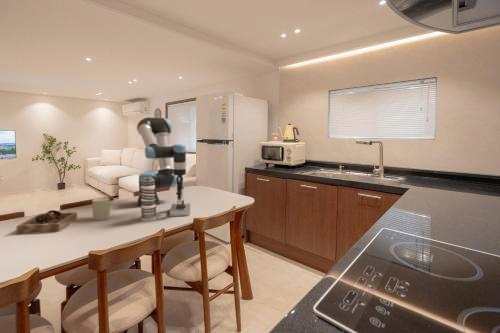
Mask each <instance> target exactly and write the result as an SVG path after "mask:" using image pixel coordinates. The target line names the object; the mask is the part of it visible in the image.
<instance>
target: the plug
mask: <svg viewBox="0 0 500 333" xmlns="http://www.w3.org/2000/svg"><path fill="white" fill-rule="evenodd" d="M176 204H177V203H176ZM184 204H185V199H182V204H177V209H184Z"/></svg>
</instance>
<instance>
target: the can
mask: <svg viewBox="0 0 500 333" xmlns="http://www.w3.org/2000/svg"><path fill="white" fill-rule="evenodd" d="M91 202H92V220H94V221H104V220H107V219H110V218H111V211H110V210H111V209H110V197H105V196H104V197H96V198H92V200H91Z"/></svg>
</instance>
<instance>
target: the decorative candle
mask: <svg viewBox="0 0 500 333" xmlns="http://www.w3.org/2000/svg"><path fill="white" fill-rule="evenodd" d="M154 180H155V179H153V178H152V177H144V178H142V180H140V181H141V187H140V192H141V193H140V195H141V196H140V198H141V201H142V205H141V206H142V207H141V206H140V209H141V211H140V212H141V215H140V217H141V220H142V221H145V222H147V221H148V222H150V221H154V220H156V219H157V209H156V208H157V205H156V204H155V200H156V198H155V197H156V195H155V193H156V192H155V191H156V189H154V188H155V187H156V186H155V184H154V183H155V182H154Z"/></svg>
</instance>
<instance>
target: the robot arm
mask: <svg viewBox="0 0 500 333" xmlns="http://www.w3.org/2000/svg"><path fill="white" fill-rule="evenodd" d="M136 131H137V133H138V134H139V135H140V136H141V139H142V141H143V143H144V145H145V148H144V156H145V159H152V160H153V159H158V165H159V168H158V170H157V172H156V171H155V170H152V171H144V172H141V173H139V175H138V189H139V190H138V192H139V193H138V197H137V201H136V205H137V206H138V207H140V208H142V206H141V205H142V201H141V198H140V196H141V195H140V193H141V192H140V187H141V181H140V180H142V178H144V177H152V178H153V179H155V180H154V182H155V183H154V184H155V186H156V187H155V188H154V189H156V191H155V192H156V193H155V195H156V197H155V198H156V200H155V204H156V206H158V205H159V204H160V198H159V196H158V193H157V190H160V189H161V190H162V189H171V188H175V187H176V193H175V195H176V204H182V199H183V197H184V194H183V191H184V185H183V183H184V176H185V175H187V174H186V173H187V168H186V167H187V165H188V164H187V156H186V155H187V154H186V153H187V149H186V144H181V143H180V144H179V143H177V144H176V143H175V144H173V145H171V146H170V145H169V136H170V135H171V133H172V124H171V121H170V119H169V118H165V117H150V116H149V117H144V118H141V120H139V122H138V123H137V125H136ZM171 159H173V167H172V160H171Z"/></svg>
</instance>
